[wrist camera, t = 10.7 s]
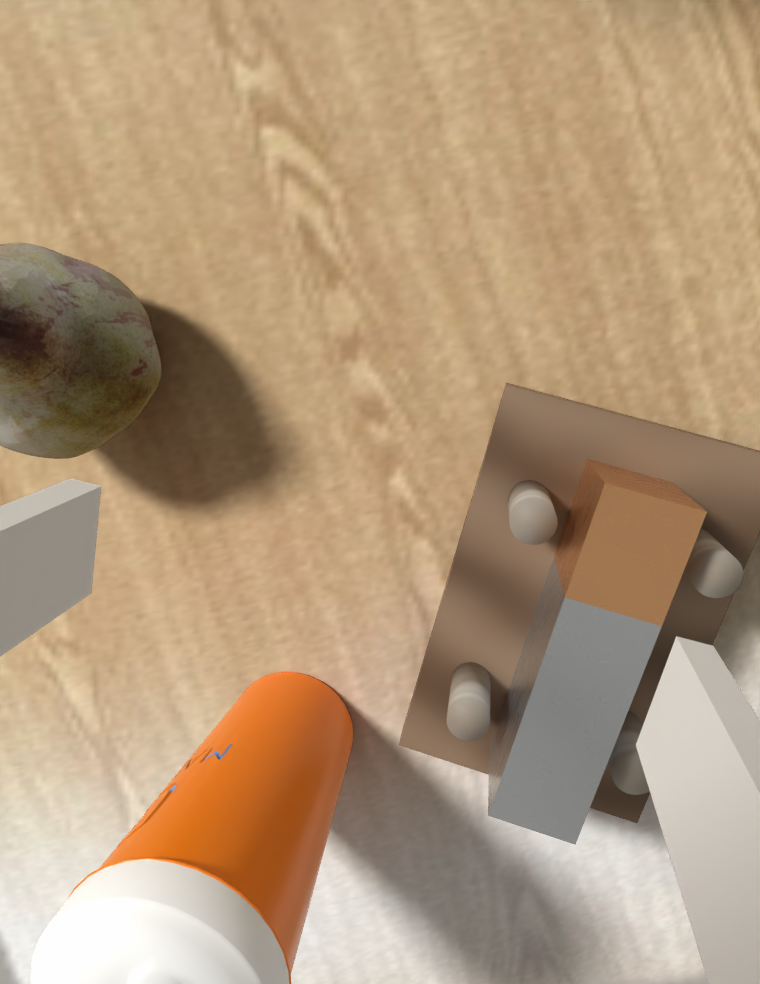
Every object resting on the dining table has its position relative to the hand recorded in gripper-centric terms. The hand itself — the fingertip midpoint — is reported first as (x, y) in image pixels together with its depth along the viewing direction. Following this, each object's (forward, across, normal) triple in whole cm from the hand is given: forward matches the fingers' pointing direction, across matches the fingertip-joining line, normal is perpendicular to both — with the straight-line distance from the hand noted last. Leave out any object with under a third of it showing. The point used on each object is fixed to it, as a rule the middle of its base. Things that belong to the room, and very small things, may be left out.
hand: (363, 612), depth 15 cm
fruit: (+21, -19, 0) cm, 28 cm away
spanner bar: (+19, +9, -7) cm, 22 cm away
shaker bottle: (+20, -4, -18) cm, 27 cm away
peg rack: (+20, +8, -7) cm, 23 cm away
